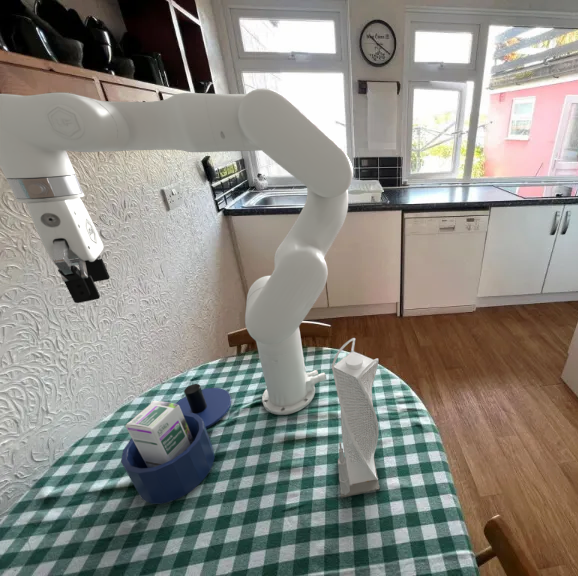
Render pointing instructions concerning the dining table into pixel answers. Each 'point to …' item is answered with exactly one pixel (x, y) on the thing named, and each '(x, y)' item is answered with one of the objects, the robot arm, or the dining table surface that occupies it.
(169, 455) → the syrup box
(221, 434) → the dining table surface
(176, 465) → the pot
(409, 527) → the dining table surface
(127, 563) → the dining table surface
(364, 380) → the skyscraper
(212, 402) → the lid
